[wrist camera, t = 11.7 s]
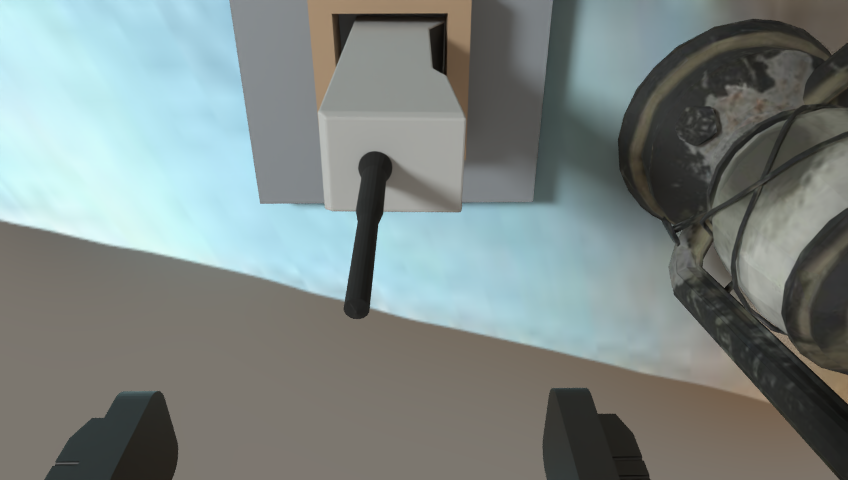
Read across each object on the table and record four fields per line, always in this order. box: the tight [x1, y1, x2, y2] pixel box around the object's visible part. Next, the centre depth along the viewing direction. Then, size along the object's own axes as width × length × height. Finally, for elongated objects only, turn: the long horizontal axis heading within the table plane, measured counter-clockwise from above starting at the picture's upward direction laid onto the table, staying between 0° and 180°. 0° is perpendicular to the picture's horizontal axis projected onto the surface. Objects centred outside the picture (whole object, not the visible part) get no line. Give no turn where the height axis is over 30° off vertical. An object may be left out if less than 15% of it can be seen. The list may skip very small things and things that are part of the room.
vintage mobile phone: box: [318, 16, 466, 319], centre depth 25 cm, size 4×5×25 cm
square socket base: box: [229, 0, 553, 204], centre depth 36 cm, size 18×18×5 cm
